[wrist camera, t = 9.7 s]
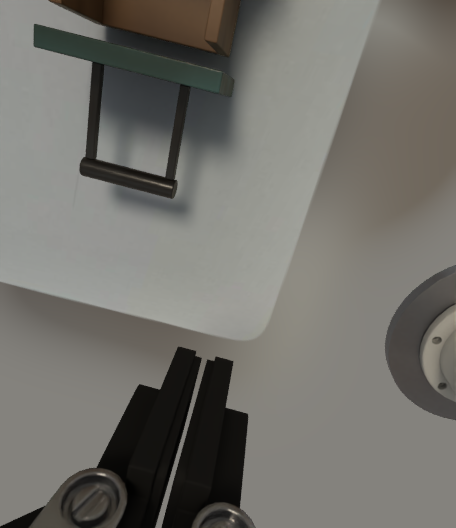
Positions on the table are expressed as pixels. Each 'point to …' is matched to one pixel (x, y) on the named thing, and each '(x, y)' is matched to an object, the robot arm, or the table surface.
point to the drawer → (146, 66)
